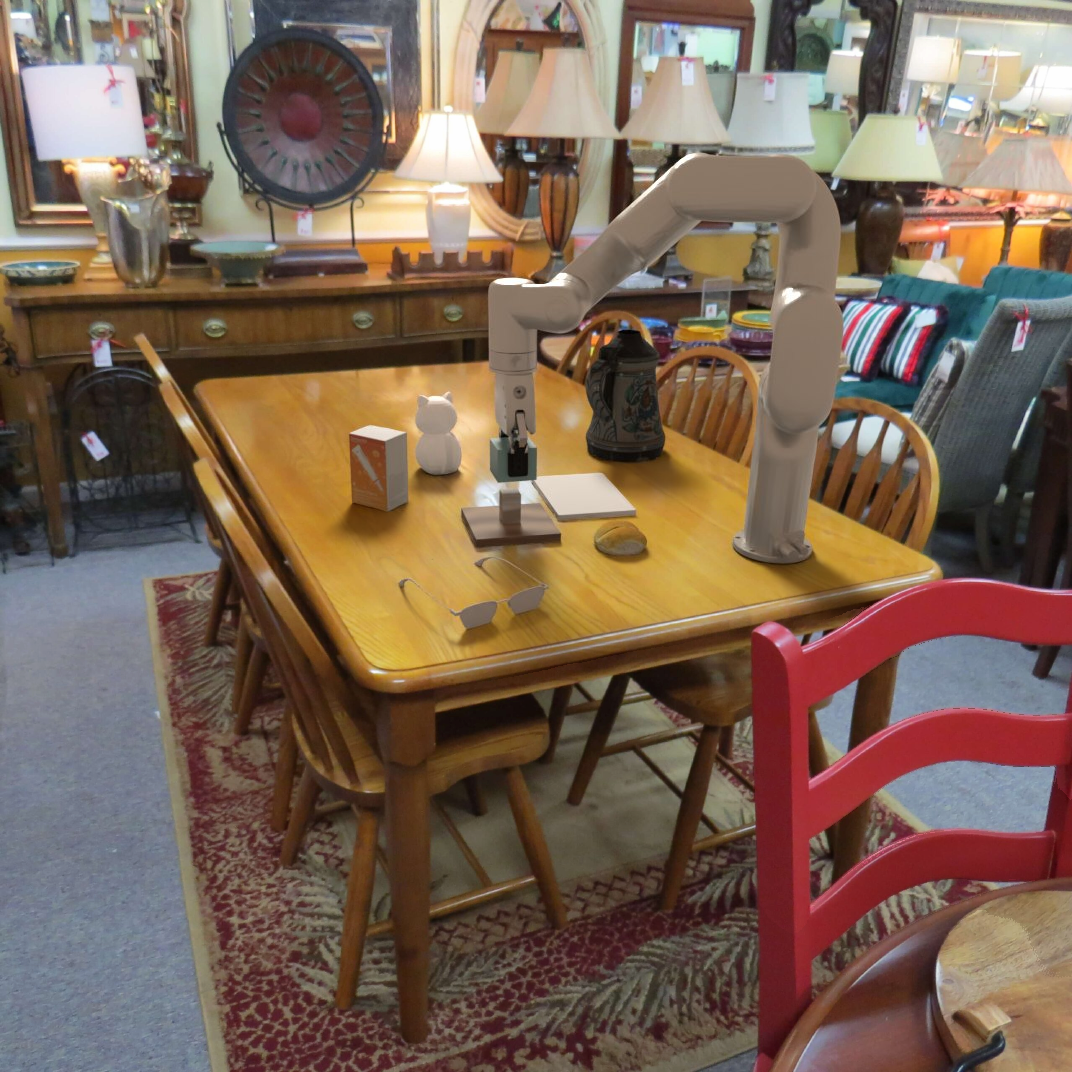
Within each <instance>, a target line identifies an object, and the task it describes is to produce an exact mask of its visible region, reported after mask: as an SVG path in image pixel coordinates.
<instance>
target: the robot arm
mask: <svg viewBox="0 0 1072 1072" xmlns="http://www.w3.org/2000/svg"><path fill="white" fill-rule="evenodd" d="M701 222H714V223H716V222H718V223H720V222H721V223H751V224H754V223H755V224H756V223H757V224H758V223H759V224H776V226H777V231H778V237H779V241H778V243H779V244H778V245H779V246H778V254H777V255H778V256H777V269H776V276H775V285H774V291H773V299H772V303H771V308H770V313H769V322H770V328H771V330H772V341H771V350H770V351H771V352H770V359H769V362H768V364H767V365H766V366H765V367H764V369H763V371H762V373H761V374H760V378H759V381H758V386H757V389H758V390H757V398H756V399H757V401H756V416H755V427H754V429H755V430H754V436H753V438H754V439H753V446H752V447H753V448H752V454H751V462H750V470H749V480H748V487H747V488H748V489H747V497H746V505H745V506H746V507H745V515H744V523H743V529H742V530H739V531H738V532H736V533H735V534H734V535H733V537H732V542H731V543H732V547H733V549H734V550H735V551H736V552H738V553H739V554H741V555H743V556H744V557H747V558H749V559H752V560H755V561H758V562H764V563H770V564H795V563H798V562H802V561H805V560H807V559H808V558H810V556H811V555H812V552H813V545H812V543H811V542H810V541H809V540H808V539H807V538H806V533H805V529H806V522H807V516H808V515H807V514H808V507H809V502H810V496H811V489H812V479H813V472H814V466H815V461H816V455H817V449H818V447H817V446H818V440H819V431H820V430H819V429H820V426H821V425H822V424H823V423H824V422H825V421H826V420H827V418H828V416H829V415H830V412H831V410H832V408H833V404H834V400H835V394H836V389H837V388H836V387H837V381H838V376H839V368H840V361H841V355H842V349H843V348H842V347H843V341H844V331H845V330H844V327H845V326H844V317H843V312H842V309H841V307H840V305H839V304H838V302H837V300H836V288H837V287H836V286H837V280H838V271H839V258H840V251H841V238H842V237H841V233H842V231H841V219H840V213H839V209H838V205H837V203H836V200H835V198H834V196H833V194H832V192H831V190H830V188H829V187H828V185H827V184H826V182H825V181H824V180H823V178H822V177H821V176H820V175H819V174H818V173H816V172H815V170H814V169H812V168H811V166H810V165H809V164H808V163H807V162H806V161H804V160H802V159H801V158H799V157H796V156H794V155H791V154H787V153H775V154H772V155H770V156H769V155H768V156H767V155H766V156H765V155H764V156H763V155H762V156H761V155H760V156H759V155H758V156H754V155H753V156H752V155H750V156H747V155H745V156H742V155H740V156H739V155H716V154H708V153H706V152H692V153H689V154H687V155H685V156H684V157H682V158H681V159H679V160H678V161H677V162H676V163H674V164H673V166H671V167H670V168H669V169H668V170H667V171H665V173H664V174H662V175H661V177H659V178H658V179H657V180H656V181H655V182H654V183H652V185H651V186H649V187H648V188H647V189H646V190H645V191H644V192H643V193H642V194H640V195H639V196H638V197H637V198H636V199H635V200H634V201H633V202H632V203H630V204H629V206H627V207H626V208H625V209H624V210H623V211H621V213H619V214H618V215H617V216H616V217H615V218H614V219H613V220H612V221H611V222H610V223H609V224H608V225H606V227H605V229H604V230H603V231H602V233H601V234H599V236H598V237H597V238H596V239H595V240H594V241H593V242H592V243H591V244H590V245H589V246H587V247H586V248H585V249H584V250H583V251H582V252H581V253H579V254H578V256H576V257H575V258H574V259H573V260H572V261H571V262H569V264H568V265H566V266H565V267H564V268H563V269H562V270H561V271H560V272H558V274H556V275H555V276H554V277H553V278H552V279H551V280H550V281H548V282H547V283H544V284H536V283H535V282H534V280H533V281H532V280H530V279H526V278H519V277H505V278H503V277H502V278H498V279H494V280H493V281H492V282H490V284H489V287H488V289H487V290H488V291H487V292H488V293H487V295H488V296H487V297H488V298H487V299H488V307H487V308H488V370H489V371H490V372H492V373H494V417H495V421H496V424H497V425H498V427H499V429H498V438H503V437H509V449H510V452H509V453H508V476H509V477H522V476H527V475H528V443H527V440H528V437H529V436H528V435H529V434H530V435H531V436H532V435H535V434H536V432H537V424H536V423H537V422H536V421H537V420H536V395H535V394H536V393H535V382H534V375H533V374H534V373H535V372H536V371H538V330H539V331H542V332H547V333H553V334H566V333H569V332H572V331H574V330H575V329H577V327H579V326H580V324H581V323H582V321H583V319H584V318H585V315H586V314H587V313H588V312H589V311H590V310H591V309H592V308H593V307H594V306H595V305H597V303H598V302H601V300H603V298H605V296H607V295H608V294H609V293H610V292H611V291H612V290H613V289H615V288H616V287H617V286H618V285H620V284H621V283H622V282H624V281H625V280H627V278H629V277H631V276H632V275H634V274H637V273H639V272H641V271H643V270H645V269H647V268H649V266H651V265H652V264H654V263H655V262H656V261H657V260H658V259H659V258H661V257H662V256H663V255H664V254H665V253H666V252H667V251H668V250H670V249H671V248H672V247H673V246H675V244H676V243H678V242H679V241H680V240H681V239H682V238H684V236H686V235H687V234H688V233H689V232H690V231H691V230H693V229H694V228H695V227H696V226H697V225H698V224H700V223H701ZM528 433H529V434H528ZM513 438H517V439H518V440H515V442H514V441H513Z"/></svg>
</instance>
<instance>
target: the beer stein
mask: <svg viewBox="0 0 1072 1072" xmlns="http://www.w3.org/2000/svg"><path fill="white" fill-rule="evenodd" d="M597 357H598V359H597V360H595V361H594V362H593V363H592V364H591V366H590V369H589V370H588V372H587V375H586V378H585V385H584V386H585V392H586V393H585V394H586V398H587V401H588V403H589V406H590V407H591V409H592V415H591V416H592V417H591V420H590V424H589V426H588V429H587V431H586V433H585V441H586V446H587V447H586V448H587V451H588V453H589V454H590V455H592V456H593V457H595V458H598V459H600V460H605V461H607V462H616V463H625V464H629V463H630V464H633V463H634V464H636V463H638V464H639V463H646V462H647V463H648V462H651V461H654V460H656V459H658V458H660V457H661V456H662V454H663V449H664V448H665V444H666V433H665V431H664V428H663V424H662V418H661V412H660V411H661V410H660V403H659V397H658V396H659V394H658V382H657V366H658V365H659V361H660V357H661V355H660V353H659V352H658V350H657V349H656V348H655V347H654V346H653V345H652V344H650V343H649V342H648V341H647V340H646V339H645V338H643V336H642V334H641V331H639V330H636V329H620V330H618V331H617V332H616V336H615V337H613V338H612V340H611V341H609V342H608V343H607V344H603V345H602V346H601V347H600V348H599V352H598V354H597Z"/></svg>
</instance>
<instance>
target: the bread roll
mask: <svg viewBox="0 0 1072 1072" xmlns="http://www.w3.org/2000/svg"><path fill="white" fill-rule="evenodd" d="M593 543H594V545H595V546H596V547H597V548H598V549H599V550H600V551H602V552H603V553H604V554H608V555H612V556H615V557H617V556H618V557H619V556H626V557H628V556H636V555H639V554H640V553H642V552H643V551H644V549H645V548H646V547H647V544H648V539H647V537H646V535H645V534H644V533H643V532H641V530H640V529H639V528H638V527H637V526H636V525H635V524H634V523H632V522H631V521H627V520H624V519H613V520H608V521H605V522H603V523H602V524H601V525H600V526H598V528H597V529H596V531H595V533H594V534H593Z"/></svg>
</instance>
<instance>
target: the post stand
mask: <svg viewBox="0 0 1072 1072" xmlns="http://www.w3.org/2000/svg"><path fill="white" fill-rule="evenodd" d="M498 498H499V501H498V504H499V505H488V506H484V505H483V506H471V507H461V511H460V512H461V513H460V515H461V518H462V520H463V523H464V525H465V527H466V528H467V532H468V534H469V536H470V538H471V540H472V543H473V544H474V546H475V548H476V549H481V548H494V547H509V546H511V547H512V546H523V545H535V544H549V543H551V544H552V543H560V542H562V532H561V530H560V529H559V528H558V527H557V525H556V523H555V522H554V521H553V519H552V518H551V516H550V515H549V514H548V512H547V510H546V509H545V507H544V506H543V505H542V503H541V502H532V503H522V494H521V492H520V491H519V489H518V488H504V489H503V488H502V489H499V497H498Z"/></svg>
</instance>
